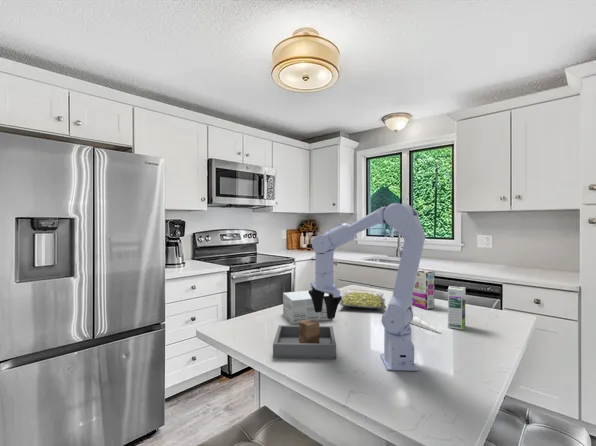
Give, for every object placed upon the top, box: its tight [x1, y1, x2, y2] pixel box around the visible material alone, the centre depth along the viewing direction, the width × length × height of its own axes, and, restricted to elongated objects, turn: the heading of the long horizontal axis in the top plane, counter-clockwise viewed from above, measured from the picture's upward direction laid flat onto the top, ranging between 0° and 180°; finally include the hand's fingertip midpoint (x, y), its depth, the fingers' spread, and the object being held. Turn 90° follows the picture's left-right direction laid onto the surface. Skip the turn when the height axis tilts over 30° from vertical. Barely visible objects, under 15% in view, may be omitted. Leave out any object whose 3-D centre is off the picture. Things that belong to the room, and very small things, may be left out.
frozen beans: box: [338, 289, 388, 310], centre depth 150 cm, size 21×6×25 cm
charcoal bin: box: [272, 324, 337, 360], centre depth 102 cm, size 16×18×4 cm
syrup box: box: [447, 285, 466, 331], centre depth 120 cm, size 6×6×14 cm
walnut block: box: [298, 319, 320, 344], centre depth 102 cm, size 4×4×7 cm
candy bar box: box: [412, 268, 436, 310], centre depth 147 cm, size 11×5×16 cm, turn 25°
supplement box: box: [282, 290, 331, 325], centre depth 132 cm, size 17×13×9 cm
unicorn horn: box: [409, 314, 442, 334], centre depth 123 cm, size 5×24×5 cm, turn 24°
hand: (324, 315), depth 104 cm, fingers open, 7 cm apart
